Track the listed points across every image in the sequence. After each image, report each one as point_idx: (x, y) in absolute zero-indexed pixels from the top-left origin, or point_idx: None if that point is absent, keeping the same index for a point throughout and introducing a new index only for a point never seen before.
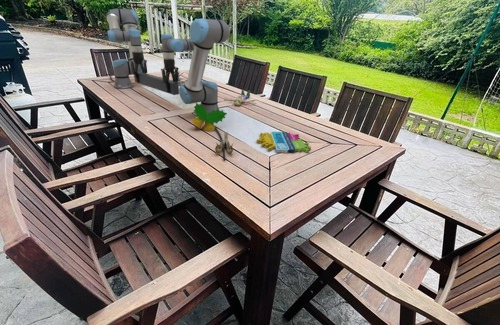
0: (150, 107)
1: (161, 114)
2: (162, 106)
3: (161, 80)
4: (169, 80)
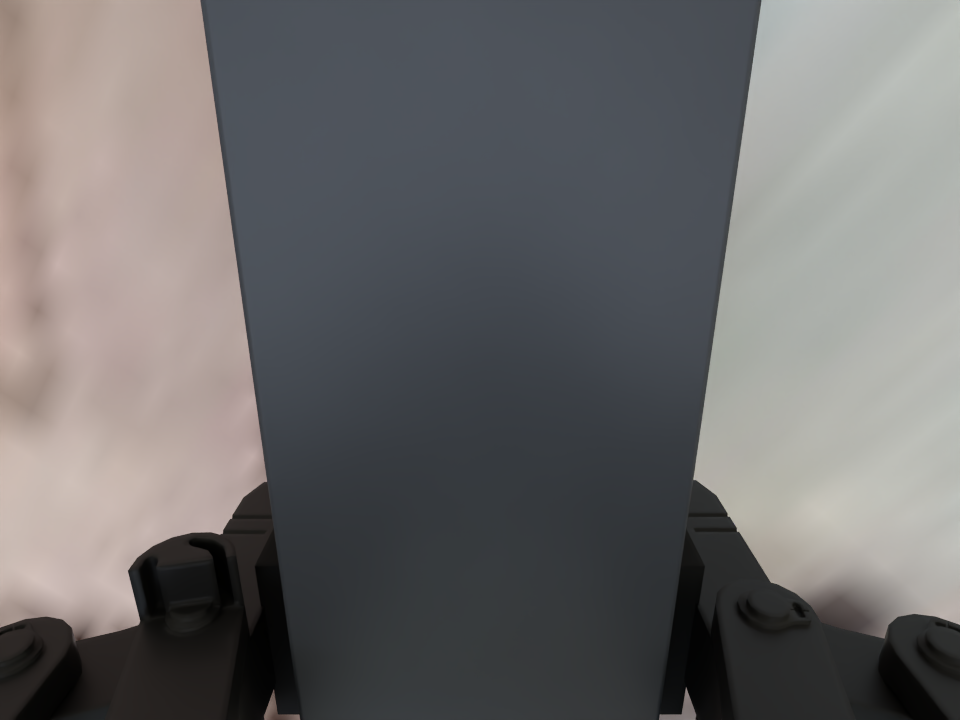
0: (90, 63)
1: (110, 500)
2: None
3: None
4: (631, 446)
